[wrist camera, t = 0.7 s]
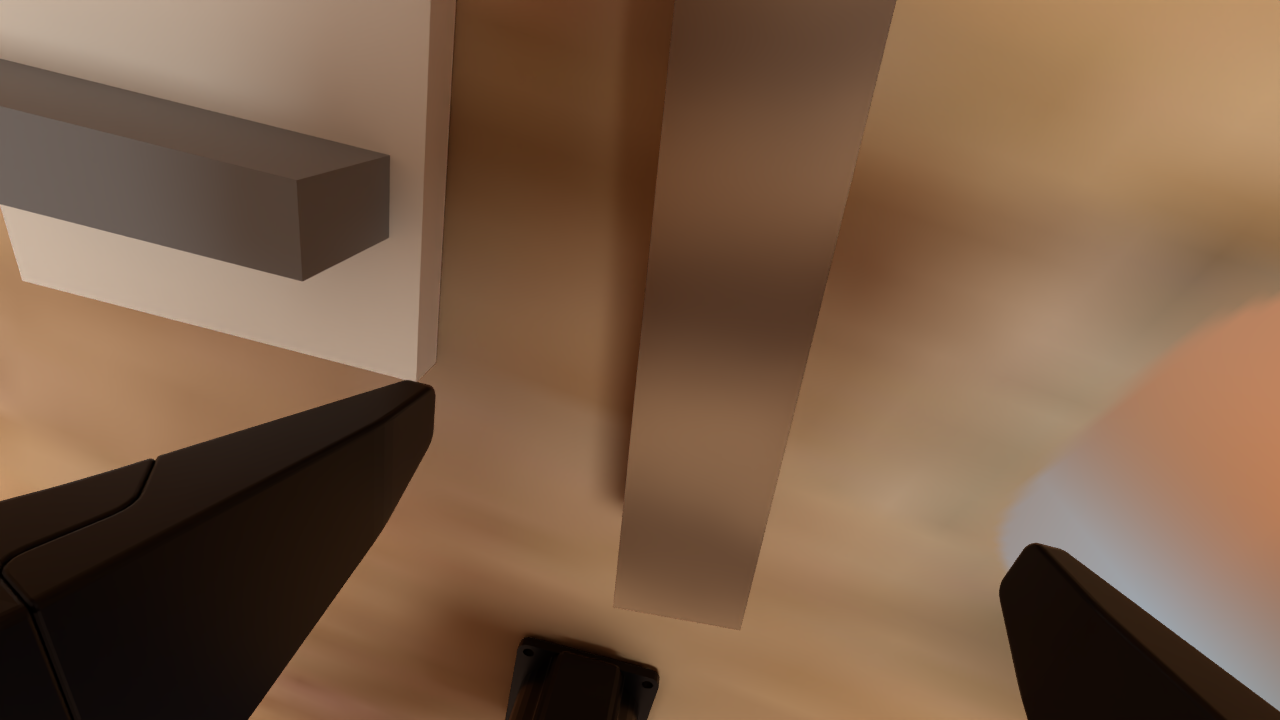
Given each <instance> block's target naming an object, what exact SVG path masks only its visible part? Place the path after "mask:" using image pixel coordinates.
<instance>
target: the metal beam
mask: <svg viewBox="0 0 1280 720" xmlns="http://www.w3.org/2000/svg"><path fill="white" fill-rule="evenodd" d="M895 4H896V0H675V3H674V13H673V23H672V33H671V43H670V52H669V62H668V72H667V82H666V92H665V102H664V112H663V121H662V131H661V141H660V151H659V161H658V171H657V180H656V190H655V200H654V210H653V220H652V230H651V240H650V249H649V259H648V269H647V279H646V289H645V299H644V308H643V318H642V328H641V338H640V348H639V358H638V368H637V377H636V387H635V397H634V407H633V417H632V427H631V437H630V446H629V456H628V466H627V476H626V486H625V496H624V505H623V515H622V525H621V535H620V545H619V555H618V565H617V574H616V584H615V594H614V604H613V607H614V608H620V609H625V610H631V611H636V612H642V613H647V614H653V615H658V616H664V617H669V618H675V619H680V620H686V621H691V622H697V623H702V624H708V625H714V626H719V627H725V628H730V629H736V630H740V629H741V625H742V621H743V617H744V613H745V609H746V605H747V601H748V597H749V593H750V589H751V585H752V581H753V577H754V573H755V569H756V565H757V561H758V557H759V553H760V549H761V545H762V541H763V537H764V533H765V529H766V525H767V521H768V516H769V512H770V508H771V504H772V500H773V496H774V492H775V488H776V484H777V480H778V476H779V472H780V468H781V464H782V460H783V456H784V452H785V448H786V444H787V440H788V436H789V432H790V428H791V424H792V420H793V416H794V412H795V408H796V403H797V399H798V395H799V391H800V387H801V383H802V379H803V375H804V371H805V367H806V363H807V359H808V355H809V351H810V347H811V343H812V339H813V335H814V331H815V327H816V323H817V319H818V315H819V311H820V307H821V303H822V299H823V295H824V291H825V286H826V282H827V278H828V274H829V270H830V266H831V262H832V258H833V254H834V250H835V246H836V242H837V238H838V234H839V230H840V226H841V222H842V218H843V214H844V210H845V206H846V202H847V198H848V194H849V190H850V186H851V182H852V178H853V174H854V169H855V165H856V161H857V157H858V153H859V149H860V145H861V141H862V137H863V133H864V129H865V125H866V121H867V117H868V113H869V109H870V105H871V101H872V97H873V93H874V89H875V85H876V81H877V77H878V73H879V69H880V65H881V61H882V57H883V52H884V48H885V44H886V40H887V36H888V32H889V28H890V24H891V20H892V16H893V12H894V8H895Z"/></svg>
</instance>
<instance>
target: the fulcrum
mask: <svg viewBox="0 0 1280 720" xmlns="http://www.w3.org/2000/svg"><path fill="white" fill-rule="evenodd" d="M455 13H456V0H0V207H1V210H2V213H3V217H4V220H5V224H6V227H7V230H8V234H9V237H10V241H11V244H12V247H13V251H14V254H15V257H16V261H17V264H18V268H19V271H20V274H21V278H22V281H26V282H30V283H33V284H37V285H41V286H45V287H49V288H53V289H57V290H60V291H64V292H68V293H72V294H76V295H80V296H84V297H87V298H91V299H95V300H99V301H103V302H107V303H110V304H114V305H118V306H122V307H126V308H130V309H134V310H137V311H141V312H145V313H149V314H153V315H157V316H161V317H164V318H168V319H172V320H176V321H180V322H184V323H188V324H191V325H195V326H199V327H203V328H207V329H211V330H215V331H218V332H222V333H226V334H230V335H234V336H238V337H242V338H245V339H249V340H253V341H257V342H261V343H265V344H269V345H272V346H276V347H280V348H284V349H288V350H292V351H295V352H299V353H303V354H307V355H311V356H315V357H319V358H322V359H326V360H330V361H334V362H338V363H342V364H346V365H349V366H353V367H357V368H361V369H365V370H369V371H373V372H376V373H380V374H384V375H388V376H392V377H396V378H400V379H403V380H411V381H415V382H417V381H418V380H419V379H420V378H421V377H422V376H423V375H424V374H425V373H426V372H427V371H428V370H429V369H430V368H431V367H432V366H433V365H434V364H435V363H436V354H437V336H438V318H439V300H440V282H441V264H442V246H443V228H444V210H445V193H446V175H447V157H448V139H449V121H450V103H451V85H452V67H453V49H454V31H455Z"/></svg>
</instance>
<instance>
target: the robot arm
mask: <svg viewBox="0 0 1280 720" xmlns="http://www.w3.org/2000/svg"><path fill="white" fill-rule="evenodd" d="M434 414H435V390H434V388H433V387H432V386H430V385H427V384H423V383H419V382H415V381H411V380H404V381H401V382H398V383H395V384H391V385H388V386H385V387H382V388H378V389H375V390H372V391H369V392H365V393H362V394H359V395H356V396H352V397H349V398H346V399H343V400H339V401H336V402H333V403H330V404H326V405H323V406H320V407H317V408H313V409H310V410H307V411H304V412H300V413H297V414H294V415H290V416H287V417H284V418H281V419H277V420H274V421H271V422H268V423H264V424H261V425H258V426H255V427H251V428H248V429H245V430H242V431H238V432H235V433H232V434H229V435H225V436H222V437H219V438H216V439H212V440H209V441H206V442H203V443H199V444H196V445H193V446H190V447H186V448H183V449H180V450H177V451H173V452H170V453H167V454H164V455H160V456H158V457H157V459H156V460H154V459H147V460H144V461H140V462H137V463H134V464H131V465H128V466H124V467H121V468H118V469H115V470H111V471H108V472H104V473H101V474H98V475H94V476H91V477H87V478H84V479H80V480H77V481H74V482H70V483H67V484H63V485H60V486H56V487H52V488H49V489H45V490H41V491H37V492H33V493H30V494H26V495H22V496H18V497H14V498H10V499H7V500H3V501H0V720H248V719H249V718H250V716H251V715H252V713H253V712H254V711H255V709H256V708H257V706H258V705H259V703H260V702H261V701H262V699H263V698H264V696H265V695H266V694H267V692H268V691H269V689H270V688H271V687H272V685H273V684H274V682H275V681H276V680H277V678H278V677H279V675H280V674H281V673H282V671H283V670H284V668H285V667H286V666H287V664H288V663H289V661H290V660H291V659H292V657H293V656H294V654H295V653H296V652H297V650H298V649H299V647H300V646H301V644H302V643H303V642H304V640H305V639H306V637H307V636H308V635H309V633H310V632H311V630H312V629H313V628H314V626H315V625H316V623H317V622H318V621H319V619H320V618H321V616H322V615H323V614H324V612H325V611H326V609H327V608H328V607H329V605H330V604H331V602H332V601H333V600H334V598H335V597H336V595H337V594H338V593H339V591H340V590H341V588H342V587H343V585H344V584H345V583H346V581H347V580H348V578H349V577H350V576H351V574H352V573H353V571H354V570H355V569H356V567H357V566H358V564H359V563H360V562H361V560H362V559H363V557H364V556H365V555H366V553H367V552H368V550H369V549H370V548H371V546H372V545H373V543H374V542H375V540H376V539H377V537H378V536H379V534H380V533H381V531H382V530H383V528H384V527H385V525H386V523H387V522H388V520H389V518H390V516H391V515H392V513H393V511H394V509H395V507H396V506H397V504H398V502H399V500H400V498H401V497H402V495H403V493H404V491H405V489H406V487H407V486H408V484H409V482H410V480H411V478H412V477H413V475H414V473H415V471H416V469H417V467H418V466H419V464H420V462H421V460H422V458H423V457H424V455H425V453H426V451H427V449H428V447H429V445H430V443H431V440H432V436H433V430H434ZM999 597H1000V603H1001V607H1002V612H1003V617H1004V621H1005V626H1006V631H1007V635H1008V640H1009V645H1010V649H1011V654H1012V659H1013V663H1014V668H1015V672H1016V677H1017V682H1018V686H1019V690H1020V694H1021V698H1022V702H1023V705H1024V709H1025V712H1026V716H1027V719H1028V720H1280V712H1279V711H1278V710H1277V709H1275V708H1274V707H1273V706H1271V705H1270V704H1269V703H1268V702H1266V701H1265V700H1263V699H1262V698H1261V697H1260V696H1258V695H1257V694H1255V693H1254V692H1253V691H1252V690H1250V689H1249V688H1248V687H1246V686H1245V685H1244V684H1242V683H1241V682H1240V681H1238V680H1237V679H1235V678H1234V677H1233V676H1232V675H1230V674H1229V673H1227V672H1226V671H1225V670H1224V669H1222V668H1221V667H1219V666H1218V665H1217V664H1215V663H1214V662H1213V661H1211V660H1210V659H1209V658H1207V657H1206V656H1205V655H1203V654H1202V653H1201V652H1199V651H1198V650H1197V649H1195V648H1194V647H1193V646H1191V645H1190V644H1189V643H1187V642H1186V641H1185V640H1183V639H1182V638H1181V637H1179V636H1178V635H1176V634H1175V633H1174V632H1173V631H1171V630H1170V629H1169V628H1167V627H1166V626H1165V625H1163V624H1162V623H1161V622H1159V621H1158V620H1157V619H1155V618H1154V617H1153V616H1151V615H1150V614H1149V613H1147V612H1146V611H1144V610H1143V609H1142V608H1141V607H1139V606H1138V605H1137V604H1135V603H1134V602H1133V601H1131V600H1130V599H1129V598H1127V597H1126V596H1125V595H1123V594H1122V593H1121V592H1119V591H1118V590H1117V589H1115V588H1114V587H1113V586H1111V585H1110V584H1109V583H1107V582H1106V581H1105V580H1103V579H1102V578H1100V577H1099V576H1098V575H1097V574H1095V573H1094V572H1093V571H1091V570H1090V569H1089V568H1087V567H1086V566H1085V565H1083V564H1082V563H1081V562H1079V561H1078V560H1076V559H1075V558H1074V557H1072V556H1071V555H1070V554H1069V553H1067V552H1066V551H1064V550H1061V549H1058V548H1055V547H1051V546H1047V545H1043V544H1039V543H1032V544H1029V545H1028V546H1026V547H1025V548H1024V549H1023V551H1022V552H1021V554H1020V555H1019V557H1018V558H1017V560H1016V561H1015V562H1014V564H1013V565H1012V567H1011V568H1010V569H1009V571H1008V572H1007V574H1006V575H1005V577H1004V578H1003V580H1002V582H1001V585H1000V590H999ZM658 687H659V675H658V674H657V673H656V672H655V671H653V670H650V669H646V668H642V667H639V666H635V665H631V664H628V663H624V662H620V661H617V660H613V659H609V658H606V657H602V656H598V655H594V654H591V653H587V652H583V651H580V650H576V649H572V648H569V647H565V646H561V645H558V644H554V643H550V642H546V641H543V640H539V639H535V638H531V637H526V638H523V639H522V640H521V642H520V644H519V647H518V650H517V656H516V662H515V667H514V673H513V679H512V685H511V690H510V696H509V702H508V708H507V713H506V719H505V720H647V718H648V715H649V712H650V710H651V707H652V704H653V701H654V699H655V696H656V693H657V690H658Z"/></svg>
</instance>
